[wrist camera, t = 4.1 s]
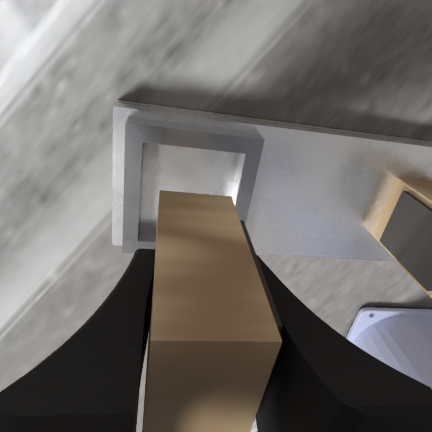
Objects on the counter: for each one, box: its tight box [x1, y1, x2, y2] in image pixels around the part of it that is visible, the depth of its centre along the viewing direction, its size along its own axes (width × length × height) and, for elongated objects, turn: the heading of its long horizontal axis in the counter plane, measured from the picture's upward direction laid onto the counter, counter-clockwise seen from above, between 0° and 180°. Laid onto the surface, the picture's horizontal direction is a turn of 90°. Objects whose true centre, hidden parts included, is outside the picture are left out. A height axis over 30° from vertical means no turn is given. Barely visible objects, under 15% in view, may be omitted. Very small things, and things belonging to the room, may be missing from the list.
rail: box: [112, 100, 432, 262], centre depth 20 cm, size 20×8×3 cm, turn 81°
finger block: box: [142, 190, 283, 432], centre depth 11 cm, size 3×4×7 cm
